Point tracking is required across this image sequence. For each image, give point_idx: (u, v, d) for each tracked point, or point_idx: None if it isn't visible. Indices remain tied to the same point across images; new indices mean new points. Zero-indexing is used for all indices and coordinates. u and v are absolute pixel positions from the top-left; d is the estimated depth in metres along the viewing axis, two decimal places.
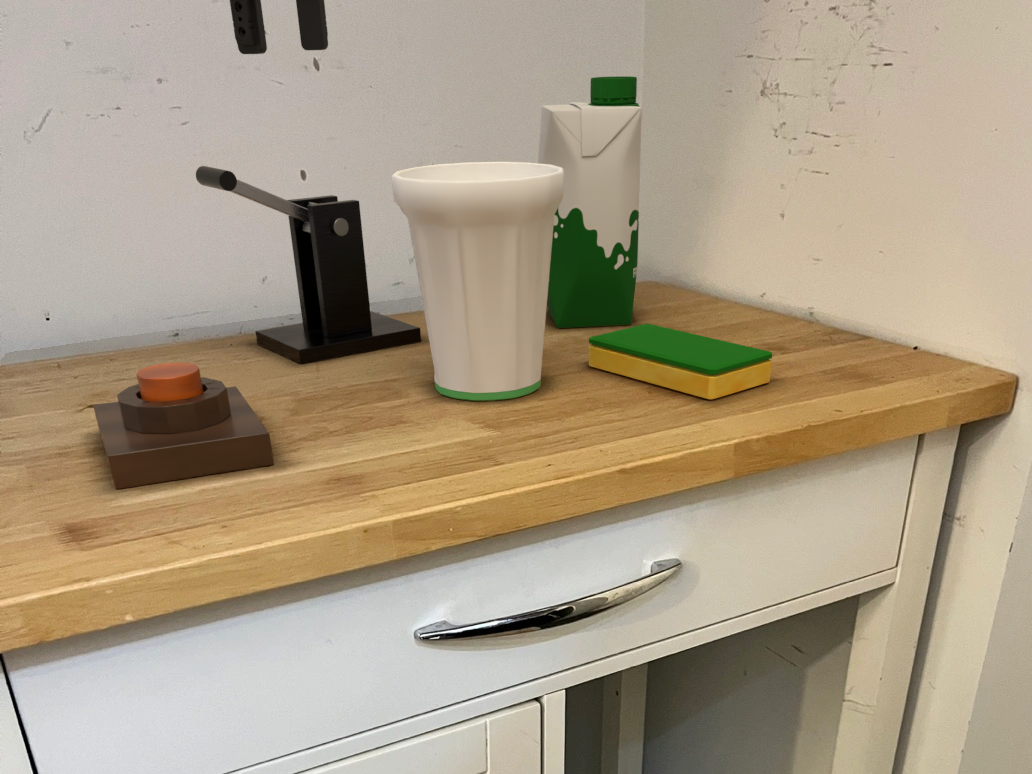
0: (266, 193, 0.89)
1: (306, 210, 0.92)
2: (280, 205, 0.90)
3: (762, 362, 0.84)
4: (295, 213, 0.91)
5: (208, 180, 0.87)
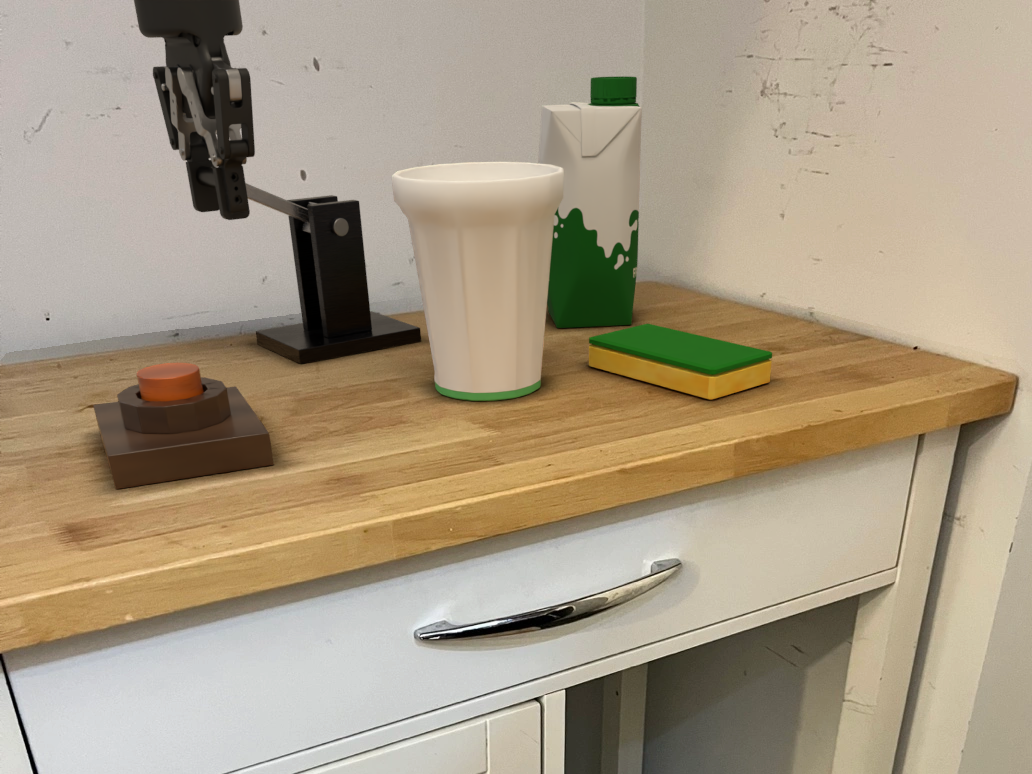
0: (266, 193, 0.89)
1: (306, 210, 0.92)
2: (280, 205, 0.90)
3: (762, 362, 0.84)
4: (295, 213, 0.91)
5: (208, 180, 0.87)
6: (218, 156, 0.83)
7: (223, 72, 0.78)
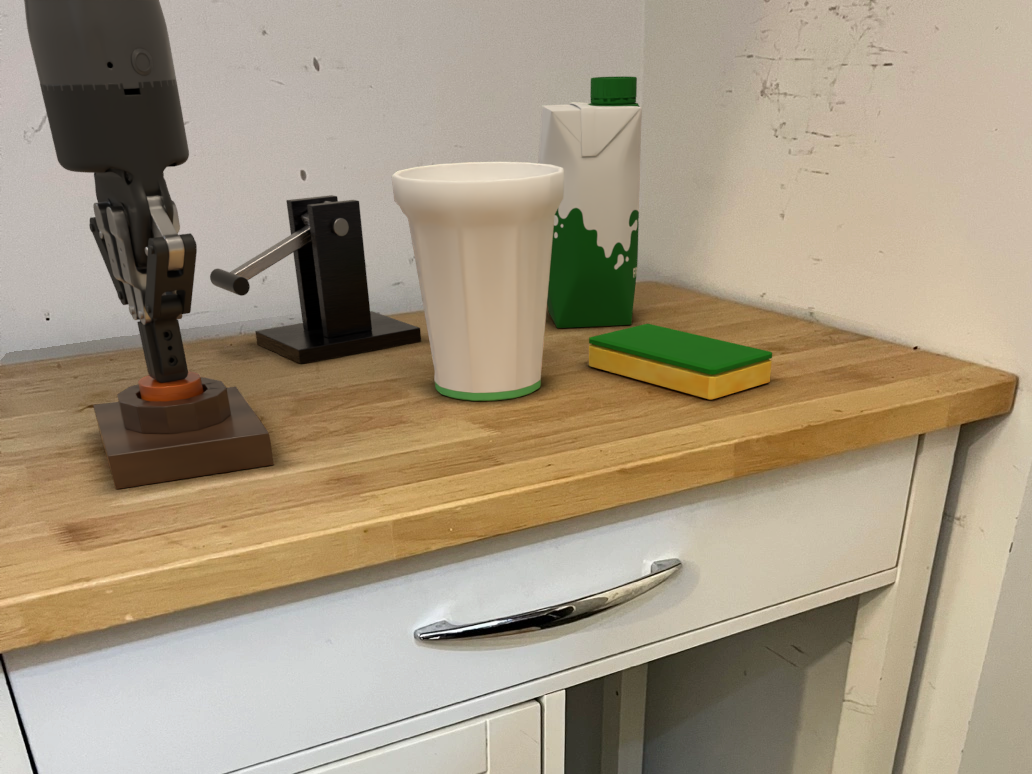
0: (269, 254, 0.92)
1: (305, 232, 0.93)
2: (285, 251, 0.92)
3: (762, 362, 0.84)
4: (300, 244, 0.93)
5: None
6: (146, 313, 0.68)
7: (163, 245, 0.63)
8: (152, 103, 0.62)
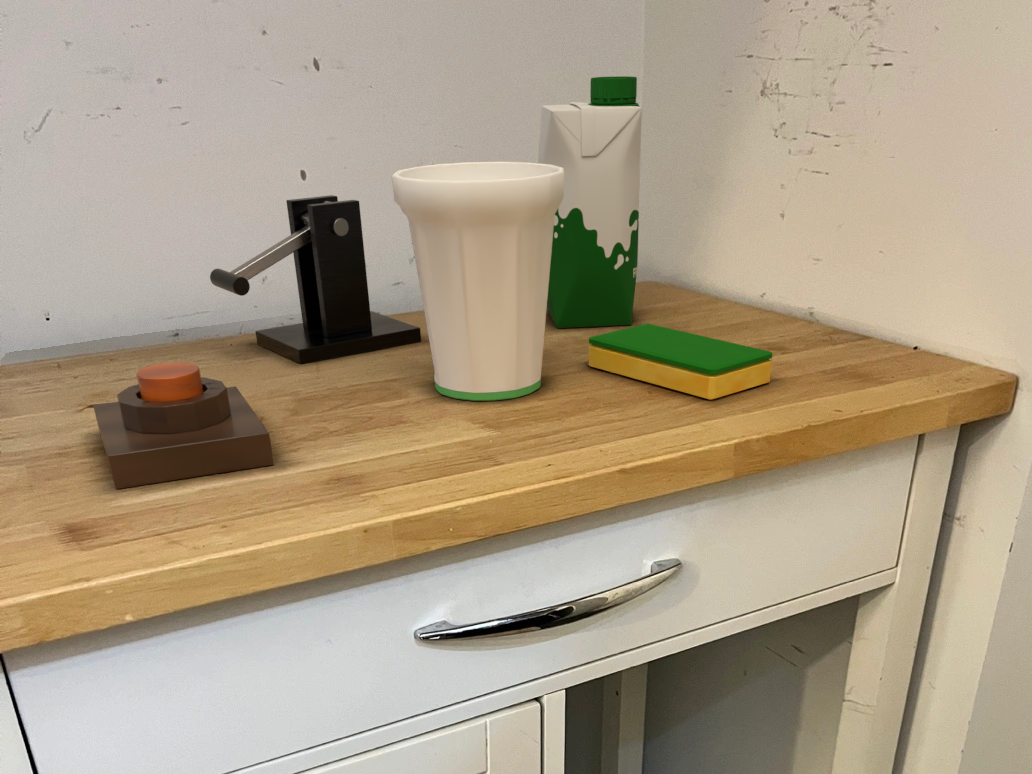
0: (269, 254, 0.92)
1: (305, 232, 0.93)
2: (285, 251, 0.92)
3: (762, 362, 0.84)
4: (300, 244, 0.93)
5: None
6: None
7: None
8: None
